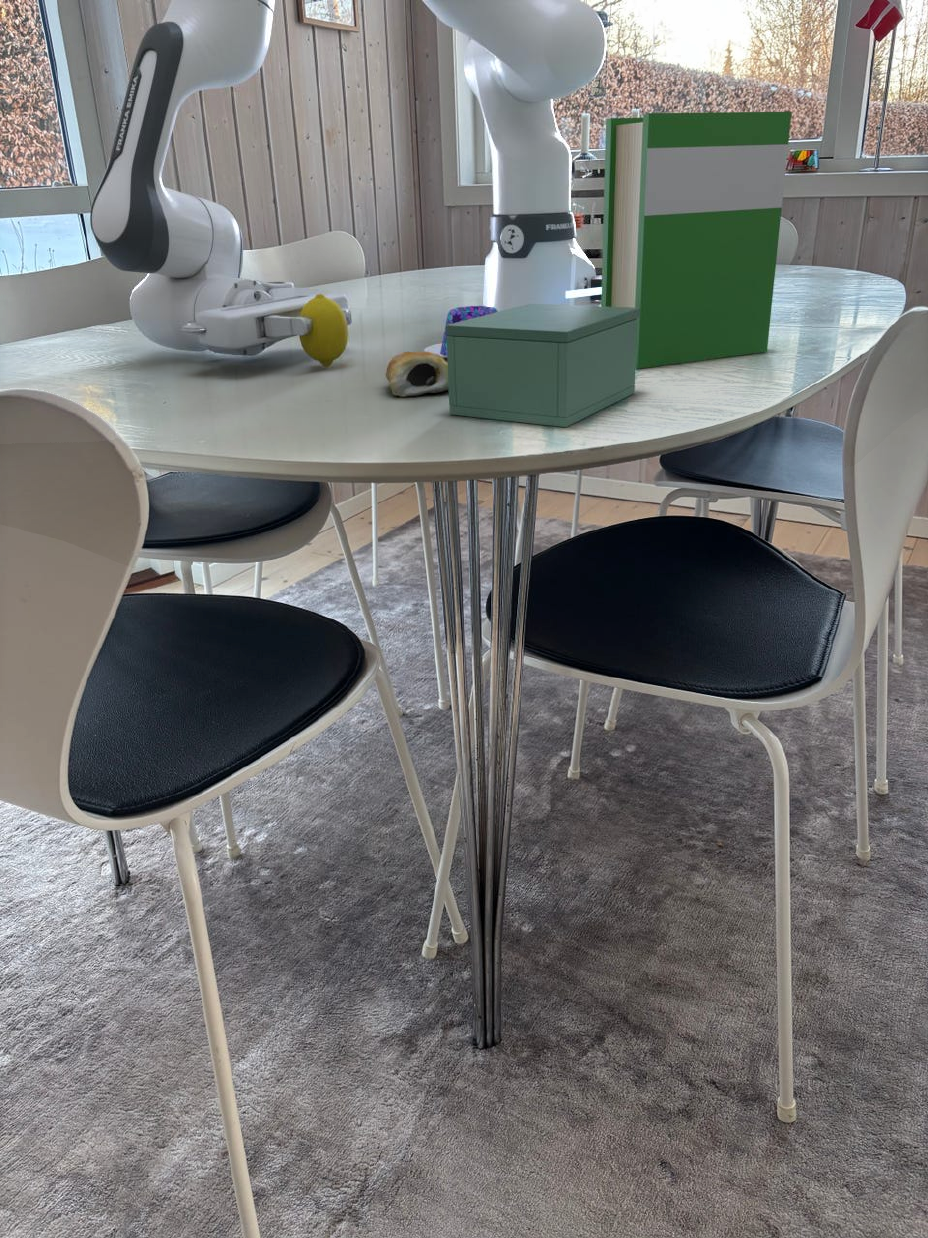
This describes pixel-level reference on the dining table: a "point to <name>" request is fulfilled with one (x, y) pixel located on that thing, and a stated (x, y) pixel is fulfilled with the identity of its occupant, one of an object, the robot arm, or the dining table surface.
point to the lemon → (324, 330)
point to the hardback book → (694, 230)
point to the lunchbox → (541, 376)
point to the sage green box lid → (544, 322)
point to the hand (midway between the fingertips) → (328, 321)
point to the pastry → (417, 373)
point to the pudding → (458, 316)
